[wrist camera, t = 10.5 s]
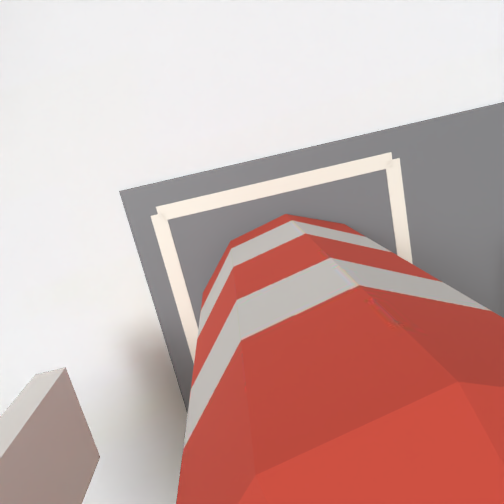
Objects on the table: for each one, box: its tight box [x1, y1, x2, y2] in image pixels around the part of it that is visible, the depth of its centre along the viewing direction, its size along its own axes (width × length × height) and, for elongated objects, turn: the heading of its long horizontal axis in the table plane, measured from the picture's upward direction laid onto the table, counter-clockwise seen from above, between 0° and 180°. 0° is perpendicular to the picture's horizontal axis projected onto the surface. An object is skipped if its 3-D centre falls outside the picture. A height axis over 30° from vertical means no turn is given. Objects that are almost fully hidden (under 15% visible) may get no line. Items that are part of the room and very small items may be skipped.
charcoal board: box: [119, 102, 504, 413], centre depth 15 cm, size 20×10×1 cm, turn 103°
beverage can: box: [176, 214, 504, 504], centre depth 9 cm, size 6×6×12 cm
